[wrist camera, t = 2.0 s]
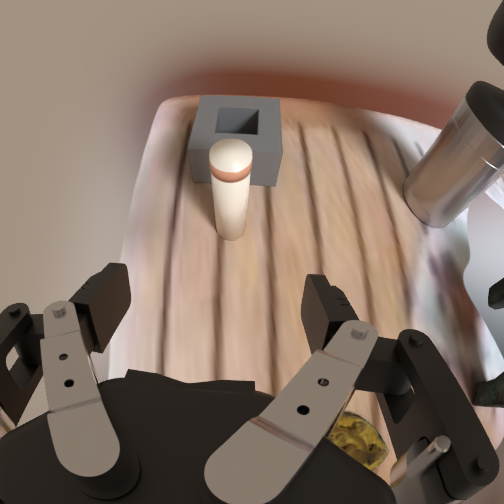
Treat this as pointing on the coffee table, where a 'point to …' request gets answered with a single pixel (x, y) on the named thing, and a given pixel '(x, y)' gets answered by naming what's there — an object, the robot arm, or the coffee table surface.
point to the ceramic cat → (500, 389)
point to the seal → (359, 440)
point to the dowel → (230, 185)
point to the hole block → (238, 134)
